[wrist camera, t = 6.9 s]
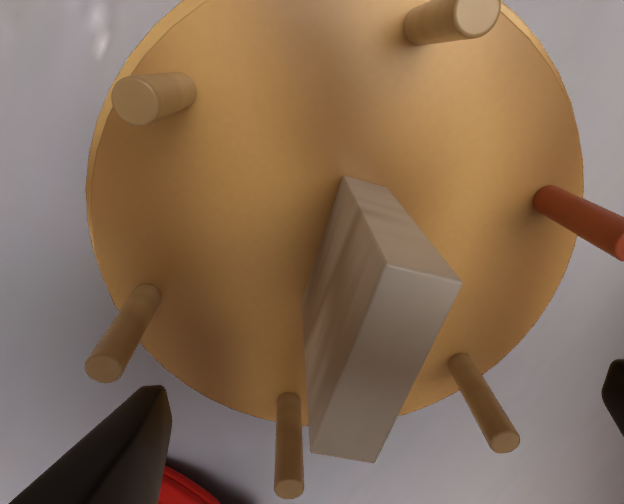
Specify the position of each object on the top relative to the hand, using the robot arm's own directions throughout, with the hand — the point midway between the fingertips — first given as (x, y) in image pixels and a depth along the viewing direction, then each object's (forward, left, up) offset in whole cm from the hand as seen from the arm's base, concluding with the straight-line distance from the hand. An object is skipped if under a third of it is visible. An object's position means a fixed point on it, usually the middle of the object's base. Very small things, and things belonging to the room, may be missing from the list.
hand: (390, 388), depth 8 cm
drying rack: (0, 0, -8) cm, 8 cm away
